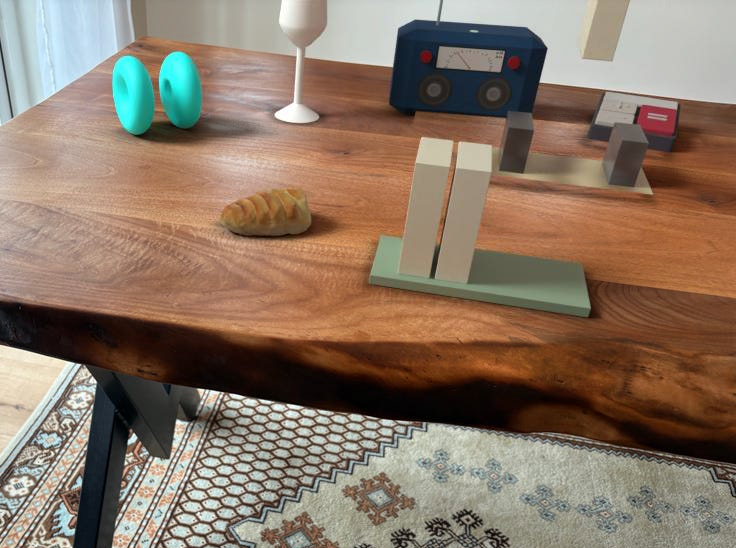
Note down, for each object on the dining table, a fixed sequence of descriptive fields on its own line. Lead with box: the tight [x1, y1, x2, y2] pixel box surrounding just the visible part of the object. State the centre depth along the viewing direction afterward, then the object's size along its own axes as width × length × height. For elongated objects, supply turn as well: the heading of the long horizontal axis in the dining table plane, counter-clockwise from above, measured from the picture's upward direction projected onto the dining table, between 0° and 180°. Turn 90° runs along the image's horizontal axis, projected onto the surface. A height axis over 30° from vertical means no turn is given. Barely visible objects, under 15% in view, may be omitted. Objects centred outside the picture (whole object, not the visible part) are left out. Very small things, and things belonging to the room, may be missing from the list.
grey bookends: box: [491, 111, 654, 195], centre depth 96 cm, size 20×10×6 cm, turn 76°
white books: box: [368, 136, 592, 318], centre depth 72 cm, size 20×9×12 cm, turn 76°
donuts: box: [112, 51, 203, 136], centre depth 104 cm, size 10×10×10 cm
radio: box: [388, 0, 549, 119], centre depth 112 cm, size 21×9×20 cm, turn 82°
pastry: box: [220, 185, 312, 237], centre depth 82 cm, size 9×7×4 cm
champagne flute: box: [274, 0, 328, 124], centre depth 107 cm, size 7×7×24 cm
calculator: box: [586, 91, 682, 153], centre depth 111 cm, size 11×4×15 cm
